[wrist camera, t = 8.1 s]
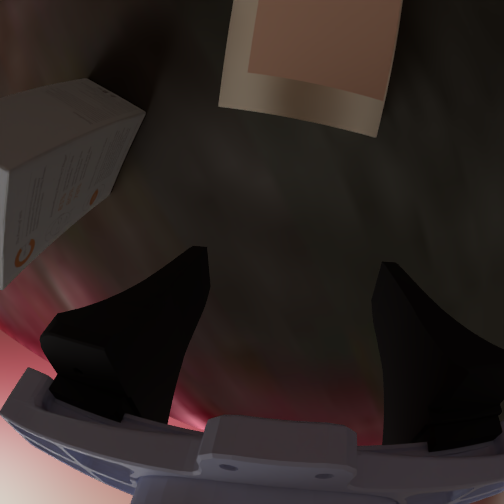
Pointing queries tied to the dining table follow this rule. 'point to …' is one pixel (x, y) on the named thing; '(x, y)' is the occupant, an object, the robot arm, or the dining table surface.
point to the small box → (57, 162)
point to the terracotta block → (327, 42)
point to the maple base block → (289, 85)
